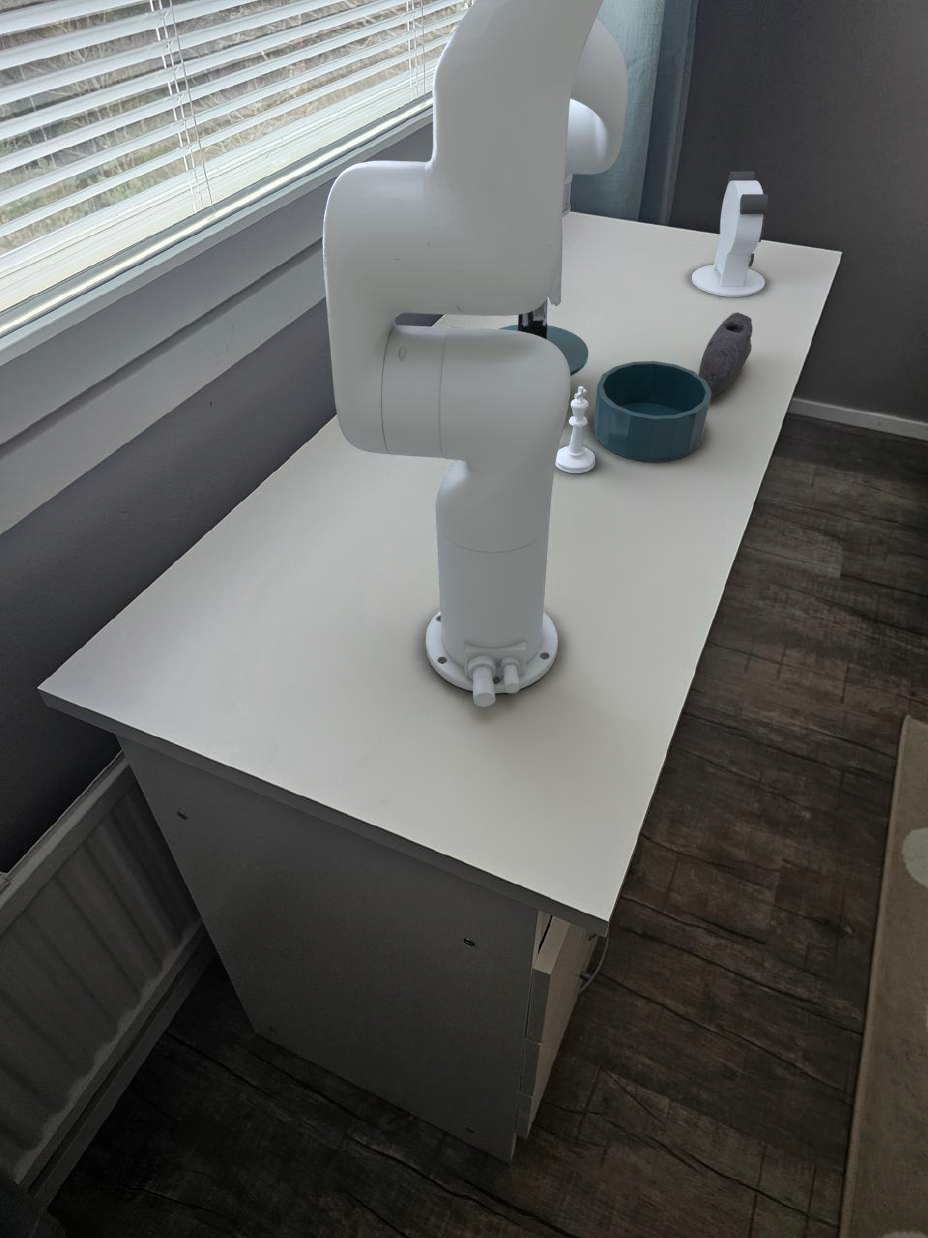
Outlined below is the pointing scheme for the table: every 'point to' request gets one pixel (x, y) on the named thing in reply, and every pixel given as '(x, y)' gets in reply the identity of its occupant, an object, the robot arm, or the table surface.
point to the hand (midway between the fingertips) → (531, 345)
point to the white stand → (736, 240)
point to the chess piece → (576, 440)
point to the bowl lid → (565, 346)
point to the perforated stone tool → (726, 352)
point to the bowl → (651, 411)
